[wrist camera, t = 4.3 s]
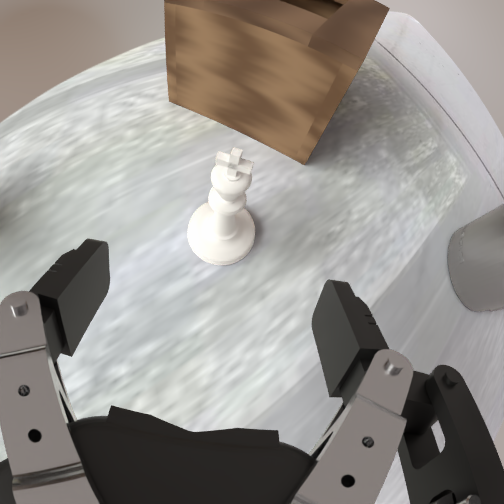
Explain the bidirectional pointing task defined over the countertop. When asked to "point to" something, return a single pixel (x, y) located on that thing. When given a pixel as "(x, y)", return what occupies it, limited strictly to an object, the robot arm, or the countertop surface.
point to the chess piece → (224, 213)
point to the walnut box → (268, 63)
